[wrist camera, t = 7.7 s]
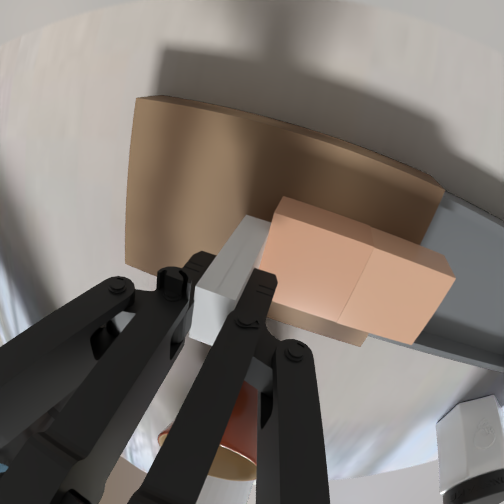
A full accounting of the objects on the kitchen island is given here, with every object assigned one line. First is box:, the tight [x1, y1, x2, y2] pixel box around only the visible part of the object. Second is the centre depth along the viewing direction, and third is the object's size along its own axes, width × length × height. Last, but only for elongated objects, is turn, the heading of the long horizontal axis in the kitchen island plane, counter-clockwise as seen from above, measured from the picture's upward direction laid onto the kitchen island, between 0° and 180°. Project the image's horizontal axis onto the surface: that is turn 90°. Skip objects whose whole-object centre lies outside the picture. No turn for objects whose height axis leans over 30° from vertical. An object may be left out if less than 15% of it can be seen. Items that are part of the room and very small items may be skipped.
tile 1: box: [336, 227, 456, 345], centre depth 16 cm, size 5×5×2 cm
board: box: [125, 95, 445, 347], centre depth 19 cm, size 18×12×3 cm, turn 78°
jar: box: [436, 395, 504, 504], centre depth 21 cm, size 9×8×12 cm
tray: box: [368, 191, 504, 373], centre depth 18 cm, size 16×11×2 cm
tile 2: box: [259, 196, 374, 322], centre depth 17 cm, size 5×5×2 cm
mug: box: [158, 381, 258, 481], centre depth 26 cm, size 12×9×10 cm
